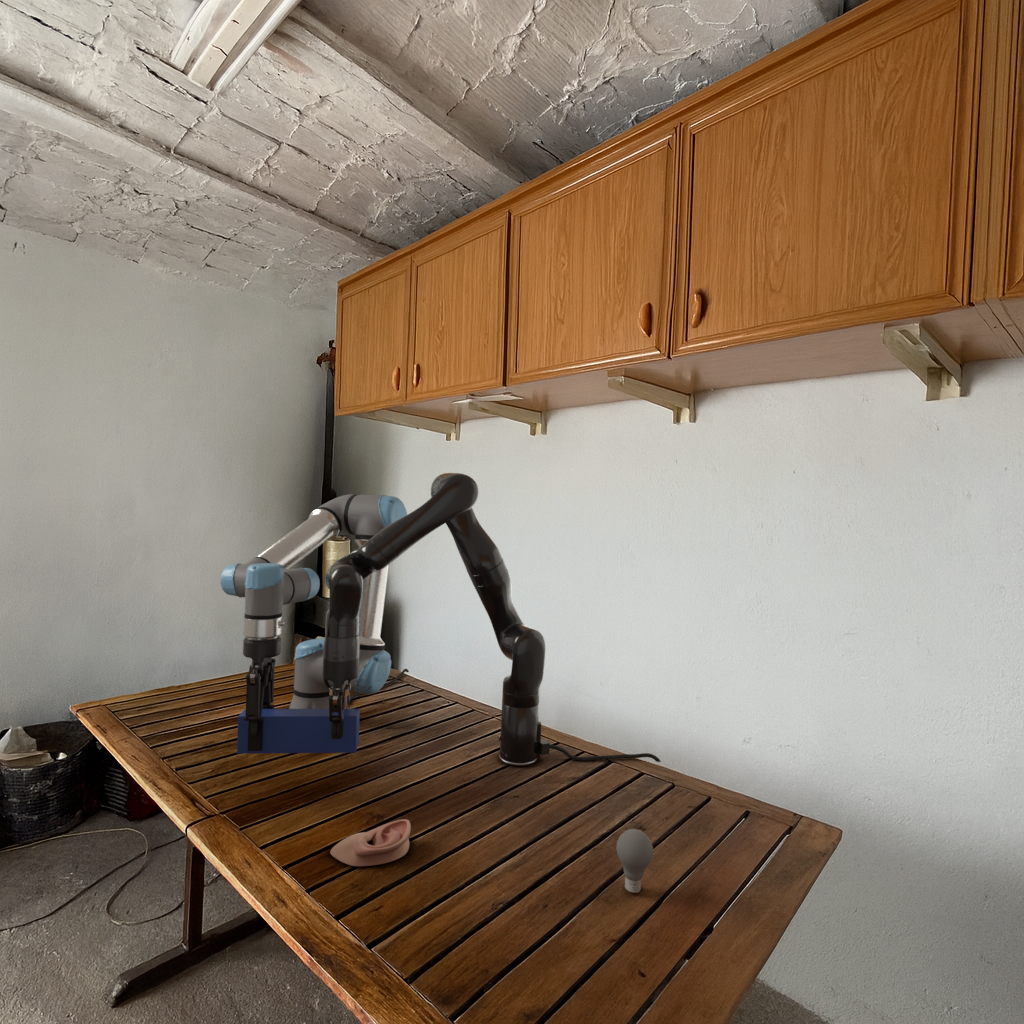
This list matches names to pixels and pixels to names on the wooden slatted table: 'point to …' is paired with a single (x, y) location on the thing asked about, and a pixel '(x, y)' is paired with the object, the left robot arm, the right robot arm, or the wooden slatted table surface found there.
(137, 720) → the wooden slatted table surface
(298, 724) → the bar
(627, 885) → the light bulb
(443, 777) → the wooden slatted table surface
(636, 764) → the wooden slatted table surface
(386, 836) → the anatomical model
